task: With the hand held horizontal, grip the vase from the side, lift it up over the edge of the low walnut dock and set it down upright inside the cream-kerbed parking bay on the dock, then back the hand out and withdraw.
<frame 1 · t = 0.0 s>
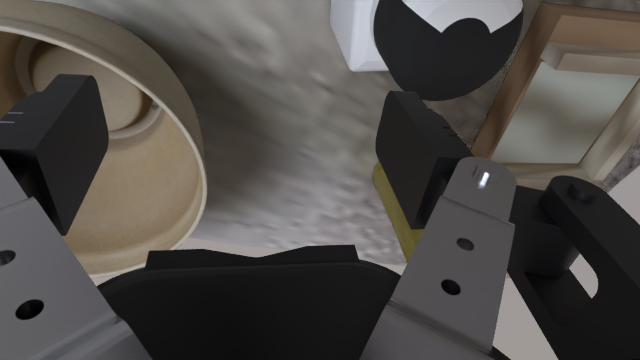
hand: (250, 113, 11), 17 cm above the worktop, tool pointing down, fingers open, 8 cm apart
planter bowl: (98, 79, 28), on the worktop
dock: (539, 122, 36), on the worktop
vase: (402, 169, 38), on the worktop
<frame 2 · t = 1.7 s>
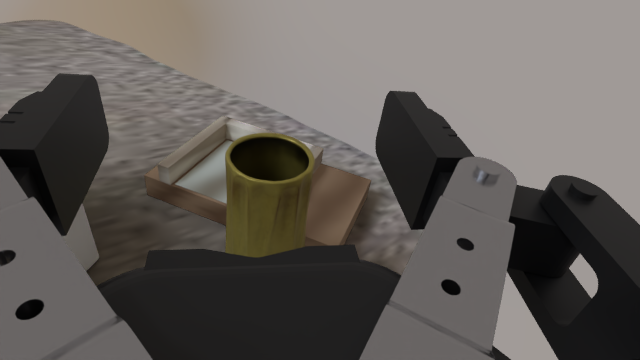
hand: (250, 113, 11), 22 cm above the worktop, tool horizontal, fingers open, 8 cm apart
medicine bottle: (30, 279, 31), on the worktop
dock: (262, 196, 42), on the worktop
vase: (261, 303, 32), on the worktop
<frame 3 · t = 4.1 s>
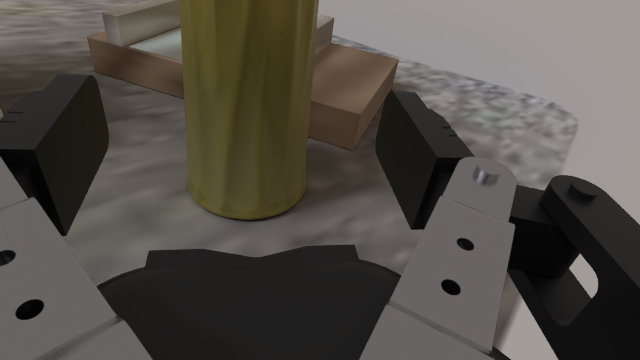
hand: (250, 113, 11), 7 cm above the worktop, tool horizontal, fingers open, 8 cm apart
dock: (253, 80, 31), on the worktop
vase: (247, 185, 21), on the worktop
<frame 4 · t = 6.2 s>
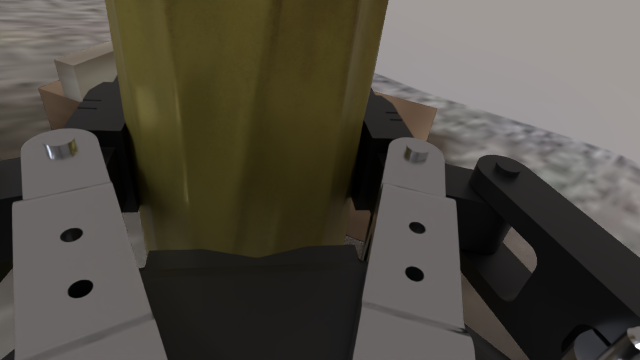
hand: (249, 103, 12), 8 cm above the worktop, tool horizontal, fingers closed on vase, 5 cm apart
dock: (254, 135, 25), on the worktop
vase: (247, 325, 15), on the worktop, touching gripper
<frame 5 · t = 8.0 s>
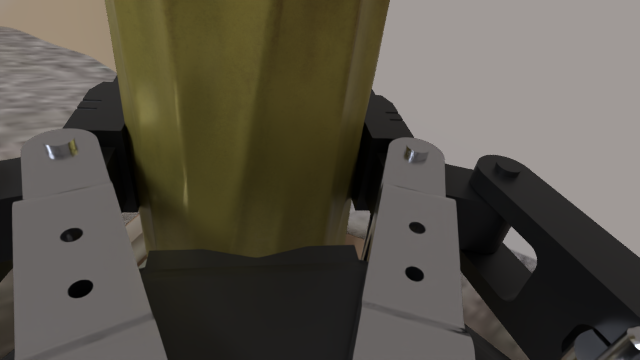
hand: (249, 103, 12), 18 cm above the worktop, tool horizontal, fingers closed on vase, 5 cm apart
dock: (259, 288, 28), on the worktop
vase: (247, 326, 15), point 10 cm above the worktop, touching gripper
when the fingers open (11 cm above the worktop, at t = 10.2 s): vase drops 1 cm, resting on dock.
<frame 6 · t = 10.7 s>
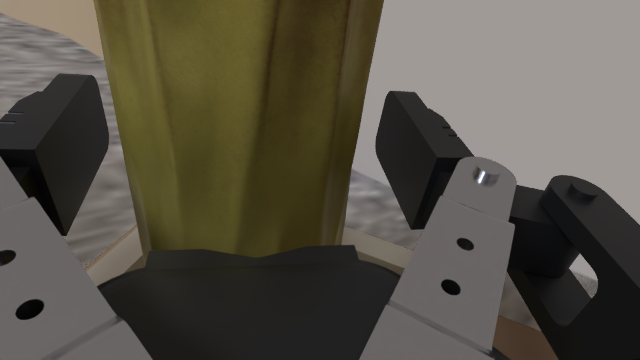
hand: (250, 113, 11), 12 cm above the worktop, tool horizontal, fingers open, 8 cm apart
vase: (247, 350, 15), point 2 cm above the worktop, touching dock
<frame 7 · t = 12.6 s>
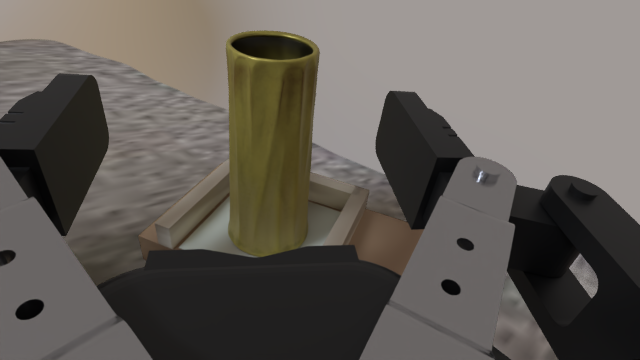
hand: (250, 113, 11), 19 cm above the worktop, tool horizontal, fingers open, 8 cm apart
dock: (292, 255, 32), on the worktop
vase: (268, 231, 31), point 2 cm above the worktop, touching dock
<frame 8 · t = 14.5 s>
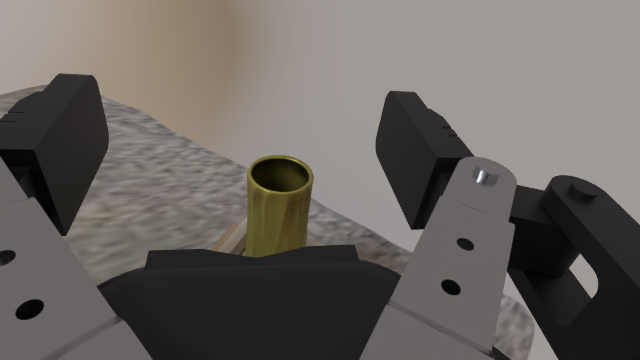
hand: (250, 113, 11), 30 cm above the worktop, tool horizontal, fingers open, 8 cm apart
dock: (290, 304, 41), on the worktop
vase: (271, 287, 40), point 2 cm above the worktop, touching dock
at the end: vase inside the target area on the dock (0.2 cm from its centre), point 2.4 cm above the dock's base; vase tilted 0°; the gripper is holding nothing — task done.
